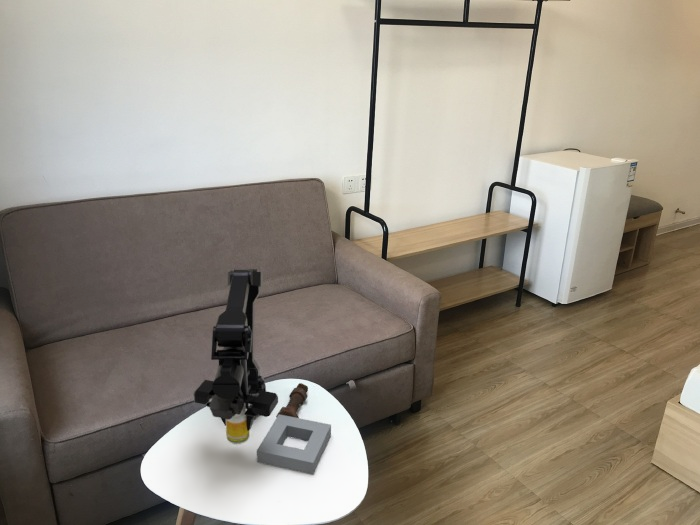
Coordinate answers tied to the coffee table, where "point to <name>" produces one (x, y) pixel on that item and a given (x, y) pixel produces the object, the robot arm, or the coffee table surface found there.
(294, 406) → the bolt
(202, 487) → the coffee table surface
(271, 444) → the socket block
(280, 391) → the coffee table surface
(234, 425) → the supplement bottle
